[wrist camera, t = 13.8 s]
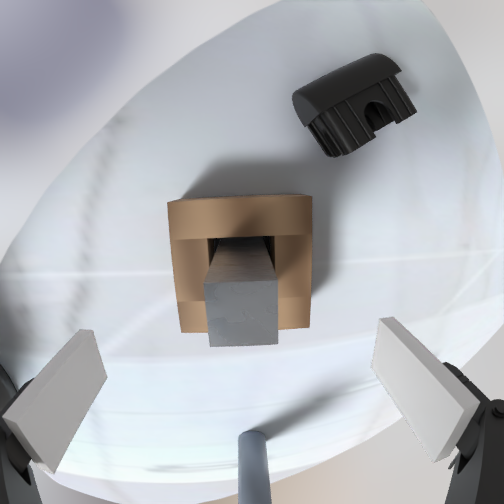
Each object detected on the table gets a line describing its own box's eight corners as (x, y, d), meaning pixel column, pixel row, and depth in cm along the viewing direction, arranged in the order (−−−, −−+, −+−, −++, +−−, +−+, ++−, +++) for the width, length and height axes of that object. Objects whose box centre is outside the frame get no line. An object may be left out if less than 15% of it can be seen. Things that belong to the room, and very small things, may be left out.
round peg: (239, 446, 36) (239, 521, 23) (237, 431, 35) (237, 511, 22) (265, 445, 36) (272, 520, 23) (265, 430, 35) (273, 509, 22)
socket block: (190, 310, 31) (181, 332, 26) (179, 199, 28) (167, 202, 23) (299, 306, 31) (309, 327, 26) (300, 194, 28) (311, 196, 23)
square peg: (224, 274, 30) (210, 346, 16) (221, 236, 29) (203, 283, 15) (262, 273, 30) (278, 343, 16) (261, 235, 29) (278, 280, 15)
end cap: (357, 66, 25) (383, 43, 18) (393, 119, 27) (426, 107, 20) (285, 104, 26) (297, 82, 20) (324, 161, 28) (347, 156, 21)
